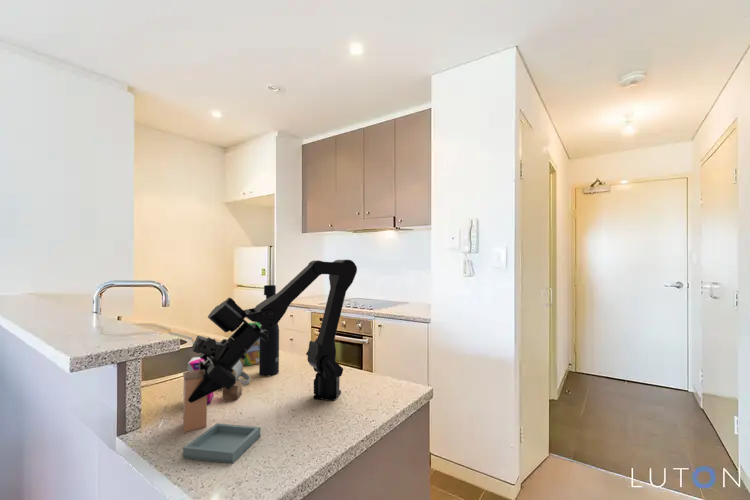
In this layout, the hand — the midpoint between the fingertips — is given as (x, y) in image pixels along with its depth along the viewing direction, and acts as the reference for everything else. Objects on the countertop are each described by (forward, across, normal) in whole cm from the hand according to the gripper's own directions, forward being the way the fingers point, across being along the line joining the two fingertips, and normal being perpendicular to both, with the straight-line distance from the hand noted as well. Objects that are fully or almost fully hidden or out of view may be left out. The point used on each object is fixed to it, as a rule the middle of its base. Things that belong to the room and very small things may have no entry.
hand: (188, 397), depth 82 cm
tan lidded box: (+4, 0, +6) cm, 7 cm away
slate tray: (+1, +14, +9) cm, 16 cm away
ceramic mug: (-5, -25, +15) cm, 30 cm away
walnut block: (-4, -13, +13) cm, 19 cm away
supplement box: (+2, -15, +8) cm, 17 cm away
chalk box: (-14, -46, +24) cm, 54 cm away
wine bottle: (-14, -29, +24) cm, 40 cm away
